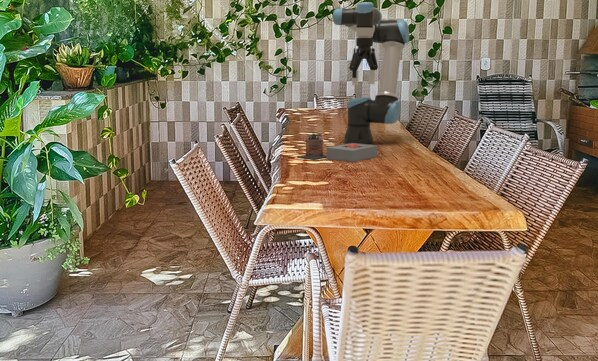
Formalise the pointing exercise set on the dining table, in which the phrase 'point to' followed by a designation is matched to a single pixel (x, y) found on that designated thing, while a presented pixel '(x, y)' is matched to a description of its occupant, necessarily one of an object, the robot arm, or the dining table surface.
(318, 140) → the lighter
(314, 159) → the mat
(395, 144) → the dining table surface
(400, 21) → the robot arm
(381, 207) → the dining table surface
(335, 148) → the button panel
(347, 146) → the red dome button
